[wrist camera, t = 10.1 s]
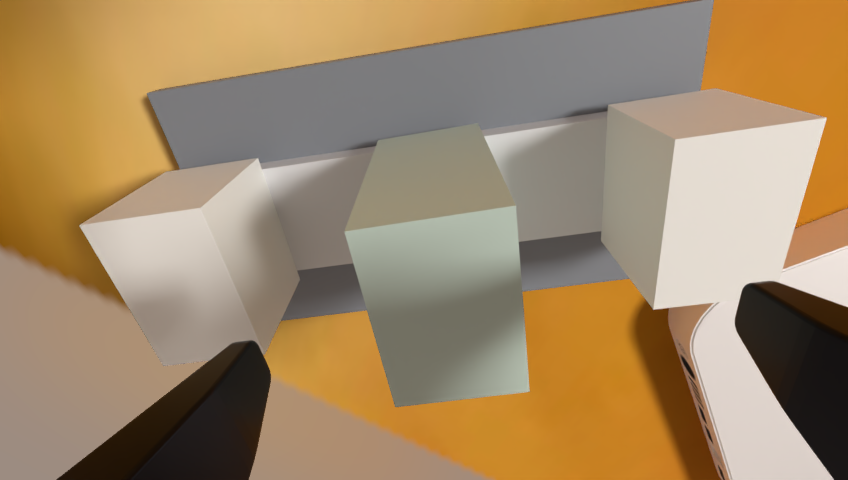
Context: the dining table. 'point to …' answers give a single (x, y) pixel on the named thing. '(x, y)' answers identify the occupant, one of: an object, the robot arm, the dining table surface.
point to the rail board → (515, 157)
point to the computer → (740, 377)
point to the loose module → (441, 267)
